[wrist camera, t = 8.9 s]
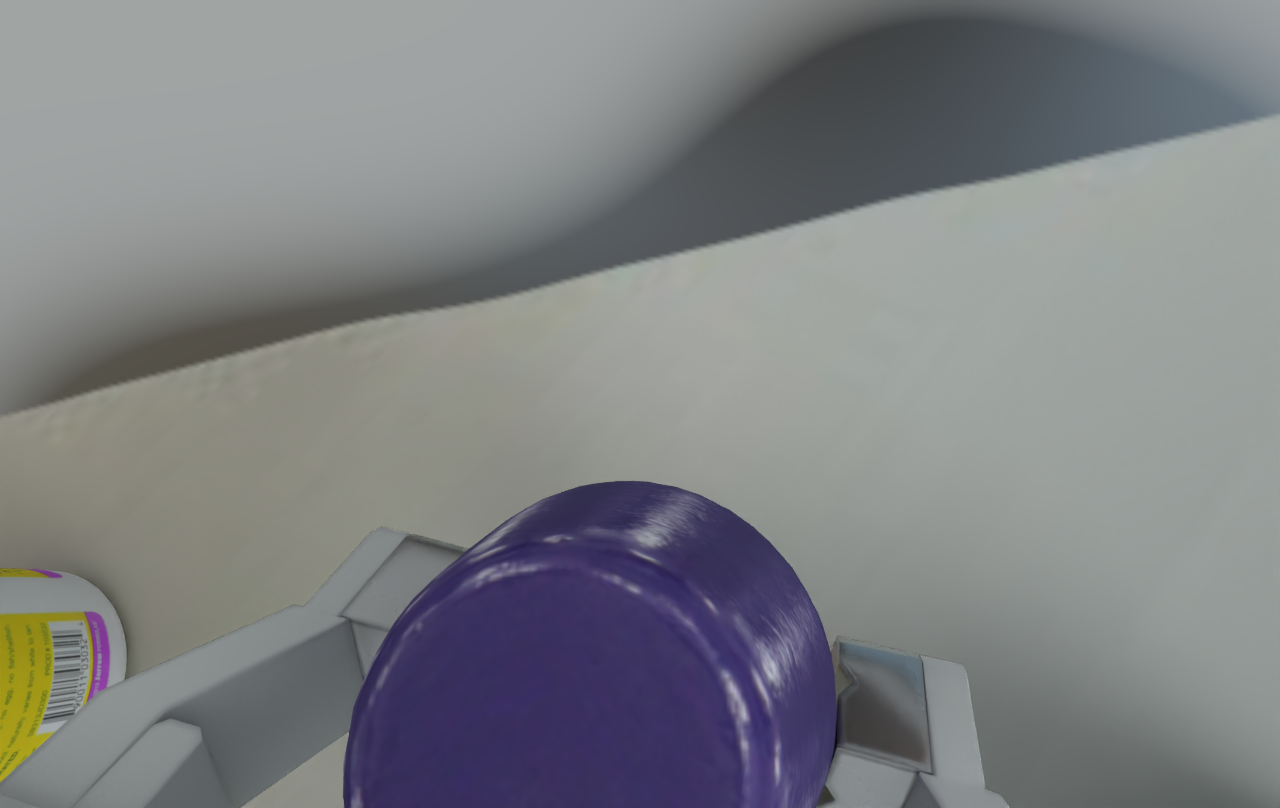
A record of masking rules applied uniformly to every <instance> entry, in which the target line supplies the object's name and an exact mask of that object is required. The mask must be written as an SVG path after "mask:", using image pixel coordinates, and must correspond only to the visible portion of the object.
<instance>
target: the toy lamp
mask: <svg viewBox="0 0 1280 808" xmlns="http://www.w3.org/2000/svg"><path fill="white" fill-rule="evenodd" d="M836 721H837V713H836V690H835V673H834V668H833V663H832V657H831V652H830V648H829V645H828V642H827V638H826V635H825V632H824V628H823V625H822V622H821V620H820V617H819V615H818V612H817V611H816V609H815V607H814V605H813V603H812V601H811V599H810V597H809V595H808V593H807V591H806V590H805V588H804V586H803V585H802V583H801V581H800V580H799V578H798V577H797V575H796V573H795V572H794V570H793V568H792V567H791V566H790V565H789V563H788V562H787V561H786V560H785V559H784V558H783V557H782V555H781V554H780V553H779V552H778V551H777V550H776V549H775V548H774V546H773V545H772V544H771V543H770V542H769V541H768V540H767V539H766V538H765V537H763V536H762V535H761V534H760V533H759V532H758V531H757V530H756V529H755V528H754V527H753V526H751V525H750V524H749V523H747V522H746V521H744V520H743V519H741V518H740V517H739V516H737V515H736V514H734V513H733V512H732V511H730V510H729V509H726V508H724V507H722V506H720V505H718V504H717V503H715V502H713V501H711V500H709V499H707V498H705V497H703V496H701V495H698V494H695V493H692V492H689V491H686V490H683V489H680V488H677V487H673V486H667V485H661V484H656V483H651V482H643V481H615V482H604V483H596V484H590V485H584V486H580V487H576V488H573V489H570V490H567V491H564V492H561V493H558V494H556V495H553V496H550V497H547V498H545V499H542V500H540V501H538V502H537V503H535V504H533V505H531V506H529V507H528V508H526V509H524V510H523V511H521V512H519V513H518V514H516V515H515V516H513V517H511V518H510V519H508V520H507V521H505V522H504V523H503V524H501V525H500V526H499V527H497V528H496V529H495V530H493V531H492V532H491V533H489V534H488V535H487V536H486V537H484V538H483V539H482V540H480V541H479V542H478V543H476V544H475V545H474V546H472V547H471V548H470V549H468V550H467V551H466V552H464V553H463V554H462V555H461V556H460V557H459V558H458V559H457V560H456V561H454V562H453V563H452V564H450V565H449V566H448V567H447V568H446V569H445V570H444V571H442V572H441V573H440V574H439V575H438V576H436V577H435V578H434V579H433V580H432V581H431V582H430V583H429V584H428V585H427V586H426V587H425V588H424V589H423V590H422V591H421V592H420V593H418V594H417V595H416V596H415V597H414V598H413V599H412V601H411V602H410V603H409V604H408V606H407V607H406V608H405V610H404V611H403V612H402V613H401V615H400V616H399V617H398V618H397V620H396V621H395V622H394V624H393V626H392V627H391V629H390V630H389V632H388V634H387V635H386V637H385V639H384V640H383V642H382V644H381V645H380V647H379V649H378V650H377V652H376V655H375V657H374V659H373V661H372V663H371V665H370V668H369V670H368V672H367V674H366V676H365V678H364V681H363V683H362V686H361V688H360V691H359V694H358V696H357V699H356V702H355V705H354V707H353V712H352V718H351V725H350V731H349V737H348V742H347V747H346V753H345V758H344V776H343V798H344V807H345V808H816V807H817V805H818V802H819V800H820V797H821V794H822V791H823V789H824V786H825V783H826V780H827V776H828V772H829V768H830V764H831V760H832V756H833V751H834V742H835V732H836Z"/></svg>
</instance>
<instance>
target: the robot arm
mask: <svg viewBox="0 0 1280 808" xmlns="http://www.w3.org/2000/svg"><path fill="white" fill-rule="evenodd" d="M467 550H468V548H464V547H460V546H456V545H453V544H449V543H445V542H441V541H438V540H434V539H430V538H426V537H423V536H419V535H415V534H409V533H405V532H402V531H398V530H394V529H390V528H386V527H383V526H382V527H380V528H378V529H376V530H373V531H372V532H370V533H369V534H368V536H367V537H366V538H365V539H364V540H363V541H362V542H361V543H360V544H359V546H358V547H357V548H356V549H355V550H354V551H353V552H352V553H351V554H350V556H349V557H348V558H347V559H346V560H345V561H344V562H343V563H342V564H341V565H340V567H339V568H338V569H337V570H336V571H335V572H334V573H333V574H332V575H331V577H330V578H329V579H328V580H327V581H326V582H325V583H324V584H323V585H322V587H321V588H320V589H319V590H318V591H317V592H316V593H315V594H314V595H313V597H312V598H311V599H310V600H309V601H308V602H307V603H306V604H305V605H304V607H303V606H298V605H291V606H289V607H287V608H285V609H282V610H280V611H278V612H276V613H273V614H271V615H269V616H267V617H264V618H262V619H260V620H258V621H256V622H253V623H251V624H249V625H247V626H244V627H242V628H240V629H238V630H235V631H233V632H231V633H229V634H226V635H224V636H222V637H220V638H217V639H215V640H213V641H211V642H208V643H206V644H204V645H202V646H199V647H197V648H195V649H193V650H190V651H188V652H186V653H184V654H182V655H179V656H177V657H175V658H173V659H170V660H168V661H166V662H164V663H161V664H159V665H157V666H155V667H152V668H150V669H148V670H146V671H143V672H141V673H139V674H137V675H134V676H132V677H130V678H128V679H125V680H123V681H121V682H119V683H117V684H114V685H112V686H110V687H108V688H105V689H103V690H101V691H99V692H98V693H97V694H95V695H94V696H93V697H92V698H91V699H90V700H89V701H88V702H87V703H86V704H85V705H84V706H83V707H81V708H80V709H79V710H78V711H77V712H76V713H75V714H74V715H73V716H72V717H71V718H70V719H68V720H67V721H66V722H65V723H64V724H63V725H62V726H61V727H60V728H59V729H58V730H57V731H55V732H54V733H53V734H52V735H51V736H50V737H49V738H48V739H47V740H46V741H45V742H44V743H42V744H41V745H40V746H39V747H38V748H37V749H36V750H35V751H34V752H33V753H32V754H31V755H29V756H28V757H27V758H26V759H25V760H24V761H23V762H22V763H21V764H20V765H19V766H18V767H16V768H15V769H14V770H13V771H12V772H11V773H10V774H9V775H8V776H7V777H6V778H5V779H3V780H2V781H1V782H0V808H240V807H242V806H243V805H245V804H246V803H247V802H249V801H250V800H252V799H253V798H255V797H256V796H257V795H259V794H260V793H262V792H263V791H265V790H266V789H267V788H269V787H270V786H272V785H273V784H274V783H276V782H277V781H279V780H280V779H282V778H283V777H284V776H286V775H287V774H289V773H290V772H292V771H293V770H294V769H296V768H297V767H299V766H300V765H302V764H303V763H304V762H306V761H307V760H309V759H310V758H312V757H313V756H314V755H316V754H317V753H319V752H320V751H322V750H323V749H324V748H326V747H327V746H329V745H330V744H332V743H333V742H334V741H336V740H337V739H339V738H340V737H342V736H343V735H344V734H346V733H347V732H349V731H350V725H351V718H352V712H353V707H354V705H355V702H356V699H357V696H358V694H359V691H360V688H361V686H362V683H363V681H364V678H365V676H366V674H367V672H368V670H369V668H370V665H371V663H372V661H373V659H374V657H375V655H376V652H377V650H378V649H379V647H380V645H381V644H382V642H383V640H384V639H385V637H386V635H387V634H388V632H389V630H390V629H391V627H392V626H393V624H394V622H395V621H396V620H397V618H398V617H399V616H400V615H401V613H402V612H403V611H404V610H405V608H406V607H407V606H408V604H409V603H410V602H411V601H412V599H413V598H414V597H415V596H416V595H417V594H418V593H420V592H421V591H422V590H423V589H424V588H425V587H426V586H427V585H428V584H429V583H430V582H431V581H432V580H433V579H434V578H435V577H436V576H438V575H439V574H440V573H441V572H442V571H444V570H445V569H446V568H447V567H448V566H449V565H450V564H452V563H453V562H454V561H456V560H457V559H458V558H459V557H460V556H461V555H462V554H463V553H464V552H466V551H467ZM831 657H832V663H833V668H834V673H835V690H836V713H837V721H836V732H835V742H834V751H833V756H832V760H831V764H830V768H829V772H828V776H827V780H826V783H825V786H824V789H823V791H822V794H821V797H820V800H819V802H818V805H817V807H816V808H1010V807H1009V806H1008V804H1007V803H1006V802H1005V800H1004V799H1003V798H1002V796H1001V795H1000V794H999V793H995V792H992V791H989V790H986V788H985V782H984V776H983V770H982V763H981V757H980V751H979V745H978V739H977V733H976V727H975V721H974V715H973V708H972V702H971V696H970V690H969V684H968V678H967V672H966V670H965V669H964V667H963V666H962V664H958V663H954V662H949V661H945V660H941V659H936V658H932V657H928V656H923V655H917V654H916V653H911V652H907V651H902V650H898V649H894V648H889V647H885V646H880V645H876V644H872V643H867V642H863V641H858V640H854V639H849V638H845V637H841V636H837V638H836V640H835V642H834V644H833V648H832V651H831Z"/></svg>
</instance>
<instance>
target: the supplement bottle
mask: <svg viewBox="0 0 1280 808" xmlns="http://www.w3.org/2000/svg"><path fill="white" fill-rule="evenodd" d="M126 661H127V652H126V641H125V635H124V631H123V627H122V624H121V622H120V619H119V617H118V615H117V612H116V610H115V609H114V607H113V605H112V604H111V602H110V601H109V600H108V598H107V597H106V596H105V595H104V594H103V593H102V592H101V591H100V590H99V589H98V588H97V587H95V586H94V585H93V584H91V583H90V582H88V581H87V580H85V579H83V578H81V577H78V576H76V575H73V574H70V573H66V572H61V571H54V570H38V569H16V568H12V569H7V568H0V782H1V781H2V780H3V779H5V778H6V777H7V776H8V775H9V774H10V773H11V772H12V771H13V770H14V769H15V768H16V767H18V766H19V765H20V764H21V763H22V762H23V761H24V760H25V759H26V758H27V757H28V756H29V755H31V754H32V753H33V752H34V751H35V750H36V749H37V748H38V747H39V746H40V745H41V744H42V743H44V742H45V741H46V740H47V739H48V738H49V737H50V736H51V735H52V734H53V733H54V732H55V731H57V730H58V729H59V728H60V727H61V726H62V725H63V724H64V723H65V722H66V721H67V720H68V719H70V718H71V717H72V716H73V715H74V714H75V713H76V712H77V711H78V710H79V709H80V708H81V707H83V706H84V705H85V704H86V703H87V702H88V701H89V700H90V699H91V698H92V697H93V696H94V695H95V694H97V693H98V692H99V691H101V690H103V689H105V688H108V687H110V686H112V685H114V684H117V683H119V682H121V681H123V680H124V679H125V673H126Z"/></svg>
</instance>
